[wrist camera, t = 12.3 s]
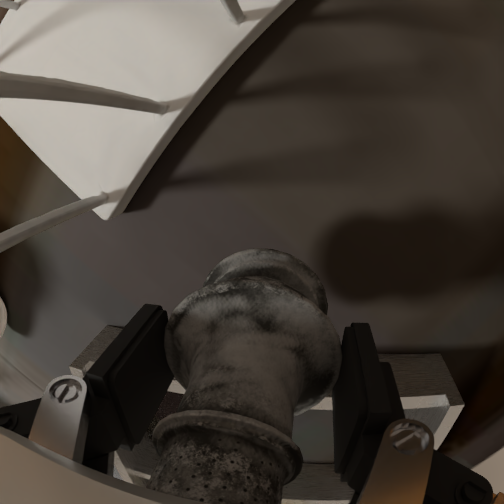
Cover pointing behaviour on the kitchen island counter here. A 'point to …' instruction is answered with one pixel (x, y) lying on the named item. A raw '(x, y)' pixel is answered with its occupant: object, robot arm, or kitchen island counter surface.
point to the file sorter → (113, 86)
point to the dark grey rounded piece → (244, 379)
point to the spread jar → (2, 317)
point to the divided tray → (313, 475)
